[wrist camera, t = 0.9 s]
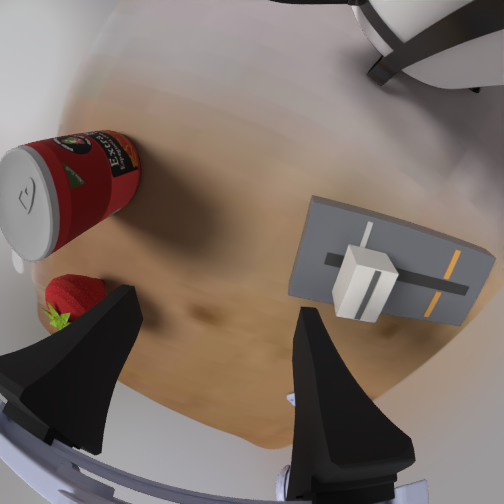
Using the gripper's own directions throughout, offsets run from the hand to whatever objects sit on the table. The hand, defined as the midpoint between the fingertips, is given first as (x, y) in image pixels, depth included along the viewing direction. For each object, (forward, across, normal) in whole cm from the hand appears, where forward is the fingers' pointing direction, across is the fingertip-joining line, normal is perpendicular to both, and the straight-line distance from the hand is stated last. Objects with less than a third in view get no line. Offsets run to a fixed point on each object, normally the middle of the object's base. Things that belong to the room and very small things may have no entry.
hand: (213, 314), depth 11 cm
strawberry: (+12, +16, +10) cm, 23 cm away
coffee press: (+14, -11, -17) cm, 24 cm away
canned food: (+13, +13, -2) cm, 19 cm away
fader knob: (+9, -9, +3) cm, 13 cm away
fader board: (+11, -14, +4) cm, 18 cm away
